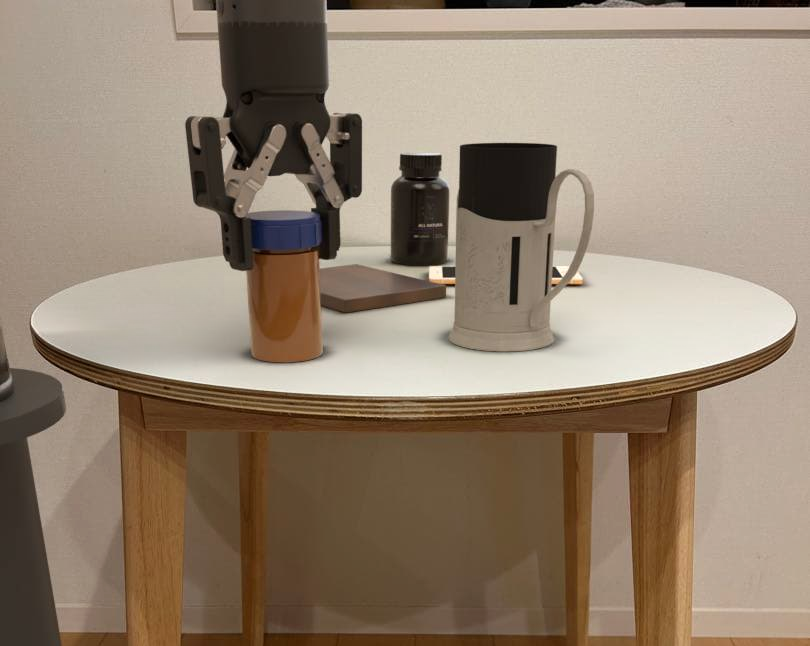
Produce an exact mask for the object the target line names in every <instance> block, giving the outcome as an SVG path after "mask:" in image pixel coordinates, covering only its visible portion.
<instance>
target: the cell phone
mask: <svg viewBox="0 0 810 646" xmlns="http://www.w3.org/2000/svg"><path fill="white" fill-rule="evenodd" d="M569 267H570V265H568V266H566V265H564V266H563V265H559V266H558V265H556V266H555V265H553V268H552V285H557V284H558V283H559V282H560V280H561V279H562V278H563V277H564V275H565V274H566V273H567V271H568V269H569ZM428 281H430V282H434V283H438V284H442V285H455V265H430V266H429V267H428ZM583 281H584V278H583V277H582V275H581V274H580V272H579V271H577V273H576V274H575V276H574V277H573V278H572V279H571V281H570V282H569V283H568V284H567V285H582V284H583Z"/></svg>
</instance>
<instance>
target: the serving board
mask: <svg viewBox="0 0 810 646" xmlns="http://www.w3.org/2000/svg"><path fill="white" fill-rule="evenodd" d="M320 292H321V307H326V308H329V309H332V310H335V311H339V312H342V313H345V314H346V313H353V312H359V311H366V310H373V309H379V308H385V307H393V306H400V305H405V304H412V303H418V302H425V301H430V300H431V301H432V300H438V299H445V298H447V284H438V283H434V282H430V281H429V280H425V279H420V278H416V277H413V276H409V275H405V274H399V273H396V272H391V271H387V270H383V269H379V268H374V267H372V266H371V267H370V266H366V265H361V264H357V263H354V264H345V265H337V266H329V267H320Z"/></svg>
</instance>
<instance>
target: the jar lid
mask: <svg viewBox="0 0 810 646" xmlns="http://www.w3.org/2000/svg"><path fill="white" fill-rule="evenodd" d="M245 217H248V218H251V232H252V248H253V249H262V250H291V249H303V248H310V247H314V246H317V245H319V244H320V243H321V242H322V232H321V222H320V215H319V214H318V213H315V212H311V211H308V210H291V209H290V210H289V209H288V210H286V209H284V210H283V209H282V210H280V209H279V210H262V211H261V210H260V211H253V212H252V211H251V212H248V213H247V215H246V216H245Z"/></svg>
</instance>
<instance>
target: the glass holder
mask: <svg viewBox="0 0 810 646" xmlns="http://www.w3.org/2000/svg"><path fill="white" fill-rule="evenodd" d="M557 153H558V146H557V145H556V144H552V143H551V144H549V143H537V142H482V143H481V142H478V143H476V142H475V143H465V144H460V145H459V165H458V166H459V168H458V170H459V172H458V173H459V175H458V190H457V195H456V206H455V207H456V212H455V215H456V216H455V262H454V263H455V264H454V266H455V284H454V321H453V323H452V324H453V325H452V329H451V330H450V332H449V334H448V341H449V342H450V343H452V344H454V345H456V346H459V347H463V348H466V349H471V350H477V351H488V352H522V351H524V352H525V351H533V350H538V349H543V348H545V347H548V346H550V345H552V344H553V343H554V341H555V337H554V334H553V332H552V330H551V324H550V320H551V301H552V300H554V298H555V297H556V296H558V294H560V293H561V291H562V290H563V289H564V288H565V287H566V286H568V285H569V284H568V283H569V282H570V281H571V279H572V278H573V277H574V276H575V274H576V273H577V271H578V270H579V268H580V266H581V264H582V262H583V260H584V257H585V254H586V252H587V249H588V247H589V242H590V238H591V234H592V229H593V222H594V213H595V193H594V189H593V186H592V182H591V181H590V179H589V177H588V175H586V174H585V173H584V172H582V171H581V170H579V169H575V168H574V169H573V168H567V169H565V170H562V171H560V172H559V173H558V174H557V173H556V172H557V155H558V154H557ZM556 174H557V175H556ZM569 175H572V176H573V177H575V178H577V180H578V181H579V182H580V185H582V189H583V194H584V215H583V223H582V231H581V234H580V238H579V241H578V246H577V248H576V251H575V254H574V256H573V259H572V261H571V263H570V265H569V266H570V267H569V269H568V271H567V273H566V274H565V275H564V277H563V278H562V279H561V280H560V282H559V283H558V284H555V286H554V287H553V288H552V285H553V284H552V268H553V266H554V251H555V231H556V215H557V213H556V212H557V204H558V203H557V202H558V198H559V197H558V196H559V192H560V189H561V186H562V184H563V182H564V180H565V179H566V178H567V177H568V176H569ZM578 272H579V271H578Z"/></svg>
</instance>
